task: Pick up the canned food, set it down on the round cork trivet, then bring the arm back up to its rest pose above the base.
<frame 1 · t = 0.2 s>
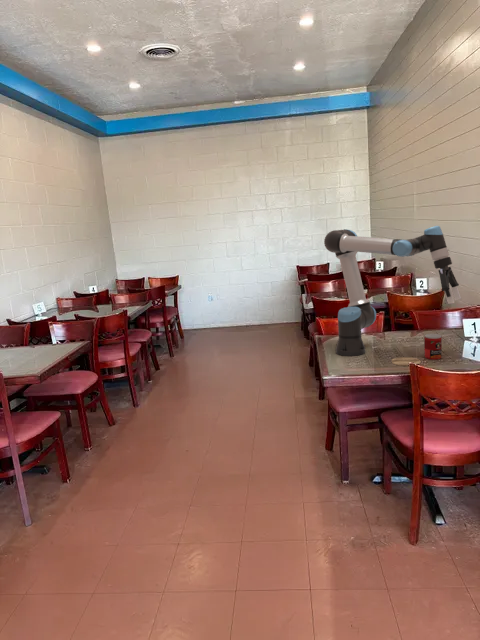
hand: (455, 301, 224), 27 cm above the table, tool tilted 15°, fingers open, 13 cm apart
canned food: (432, 358, 231), on the table
trivet: (405, 362, 226), on the table
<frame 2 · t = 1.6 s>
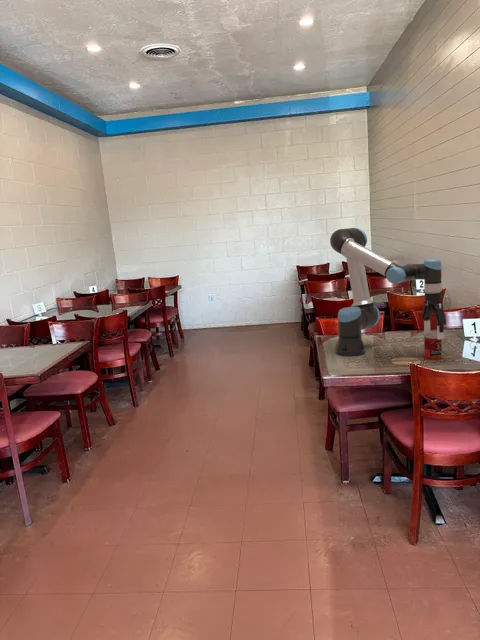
hand: (433, 336, 228), 11 cm above the table, tool pointing down, fingers open, 13 cm apart
nothing on the table moved.
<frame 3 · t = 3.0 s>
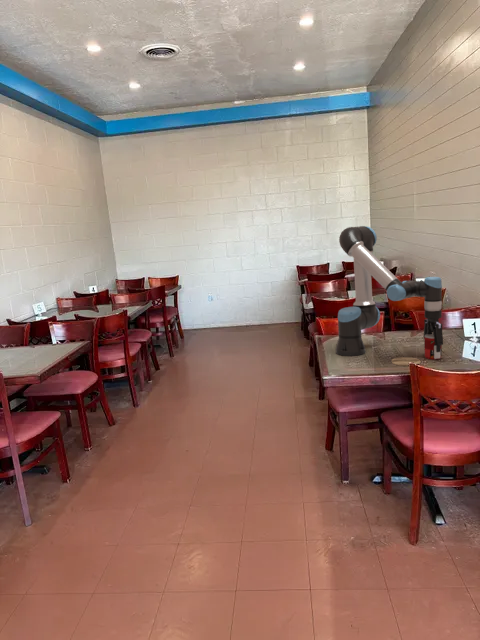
hand: (433, 356, 230), 1 cm above the table, tool pointing down, fingers closed on canned food, 8 cm apart
canned food: (433, 358, 231), on the table, touching gripper
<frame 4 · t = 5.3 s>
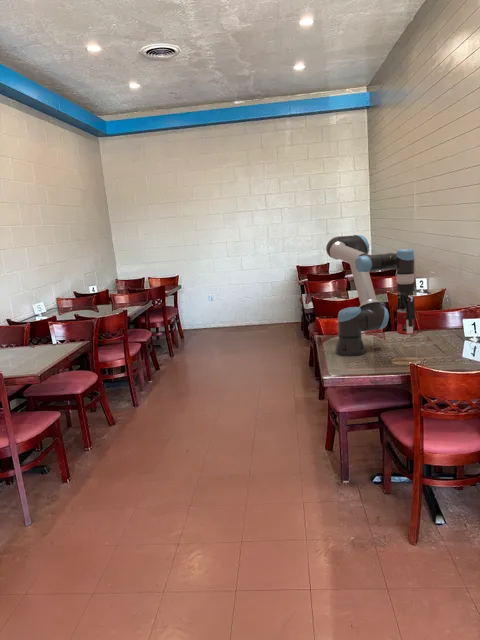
hand: (405, 331, 223), 15 cm above the table, tool pointing down, fingers closed on canned food, 8 cm apart
canned food: (405, 333, 223), point 14 cm above the table, touching gripper
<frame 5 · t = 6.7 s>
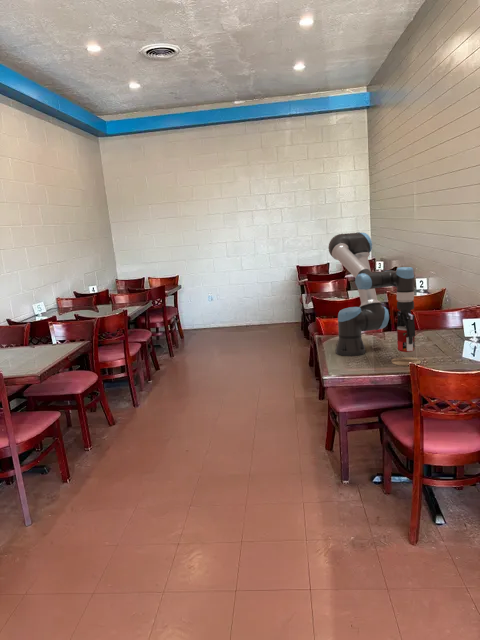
hand: (406, 348, 224), 7 cm above the table, tool pointing down, fingers closed on canned food, 8 cm apart
canned food: (406, 350, 225), point 6 cm above the table, touching gripper
when the fingers open (3 cm above the table, at t = 7.9 s): canned food drops 1 cm, resting on trivet.
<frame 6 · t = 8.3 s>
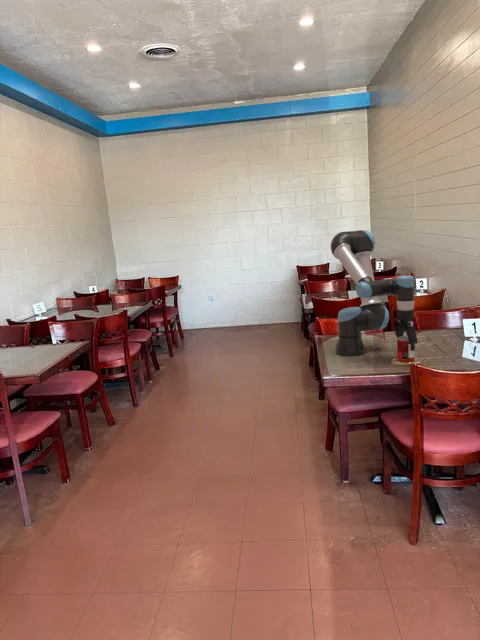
hand: (405, 353, 225), 4 cm above the table, tool pointing down, fingers open, 13 cm apart
canned food: (405, 360, 226), point 1 cm above the table, touching trivet
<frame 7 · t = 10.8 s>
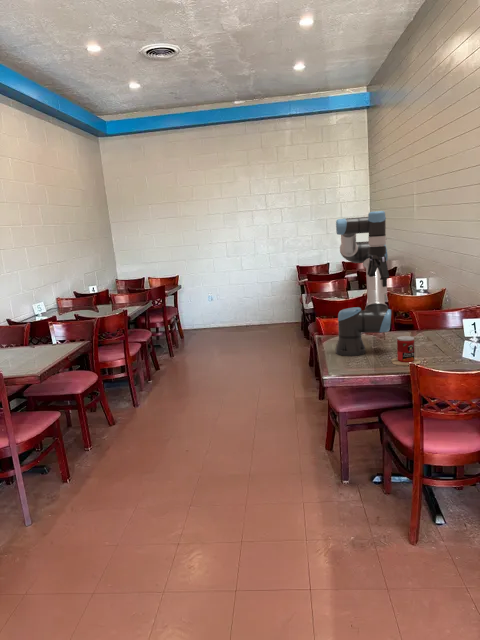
hand: (378, 292, 221), 34 cm above the table, tool pointing down, fingers open, 13 cm apart
nothing on the table moved.
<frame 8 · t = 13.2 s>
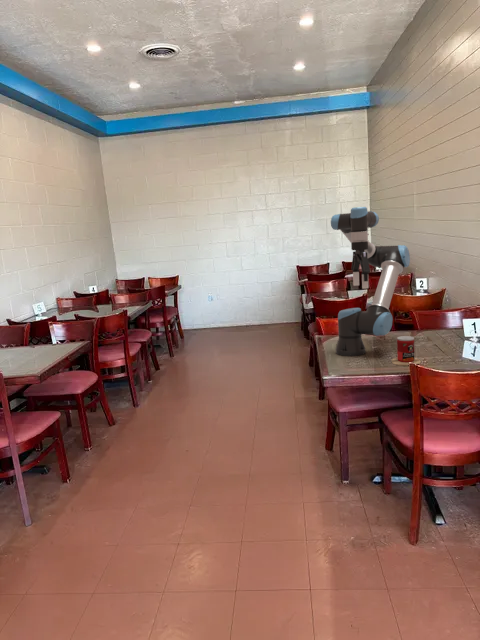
hand: (360, 287, 224), 37 cm above the table, tool pointing down, fingers open, 13 cm apart
nothing on the table moved.
at the end: canned food 0.1 cm from the trivet (horizontally); canned food tilted 0°; the gripper is holding nothing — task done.
